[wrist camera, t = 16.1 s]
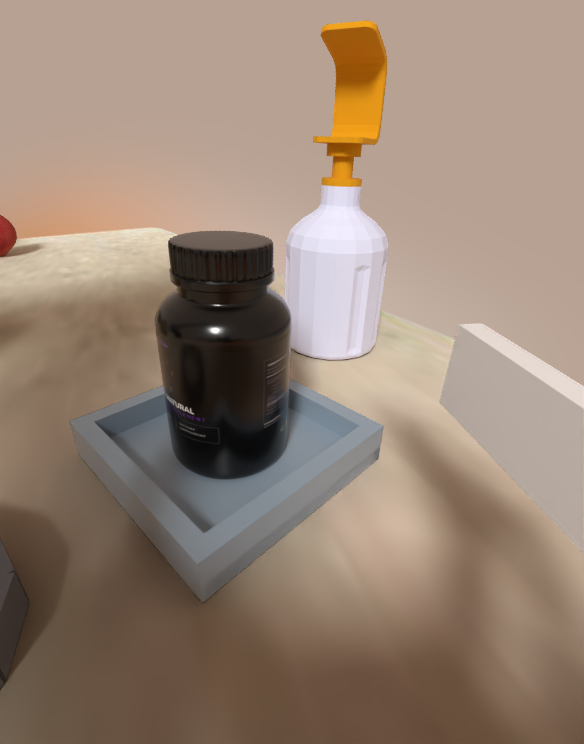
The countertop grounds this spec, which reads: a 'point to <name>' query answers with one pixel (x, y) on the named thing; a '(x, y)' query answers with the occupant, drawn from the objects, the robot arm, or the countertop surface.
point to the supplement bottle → (224, 354)
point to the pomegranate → (6, 236)
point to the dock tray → (222, 481)
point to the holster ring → (10, 612)
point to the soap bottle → (342, 214)
